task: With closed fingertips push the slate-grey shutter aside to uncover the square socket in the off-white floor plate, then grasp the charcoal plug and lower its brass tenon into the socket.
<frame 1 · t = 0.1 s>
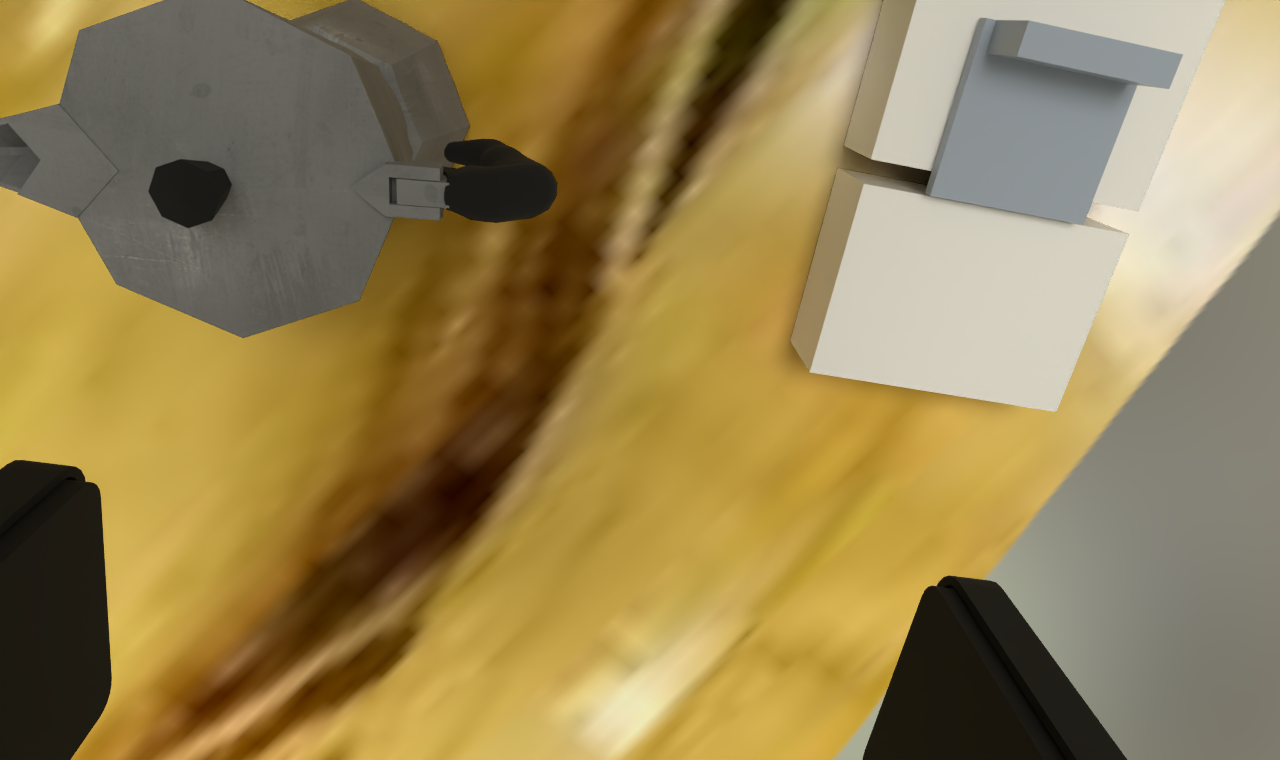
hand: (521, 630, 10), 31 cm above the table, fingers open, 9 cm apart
socket: (964, 181, 40), on the table
shutter: (1049, 129, 33), point 6 cm above the table, slide at 0.0 cm
coffeepot: (387, 117, 37), on the table
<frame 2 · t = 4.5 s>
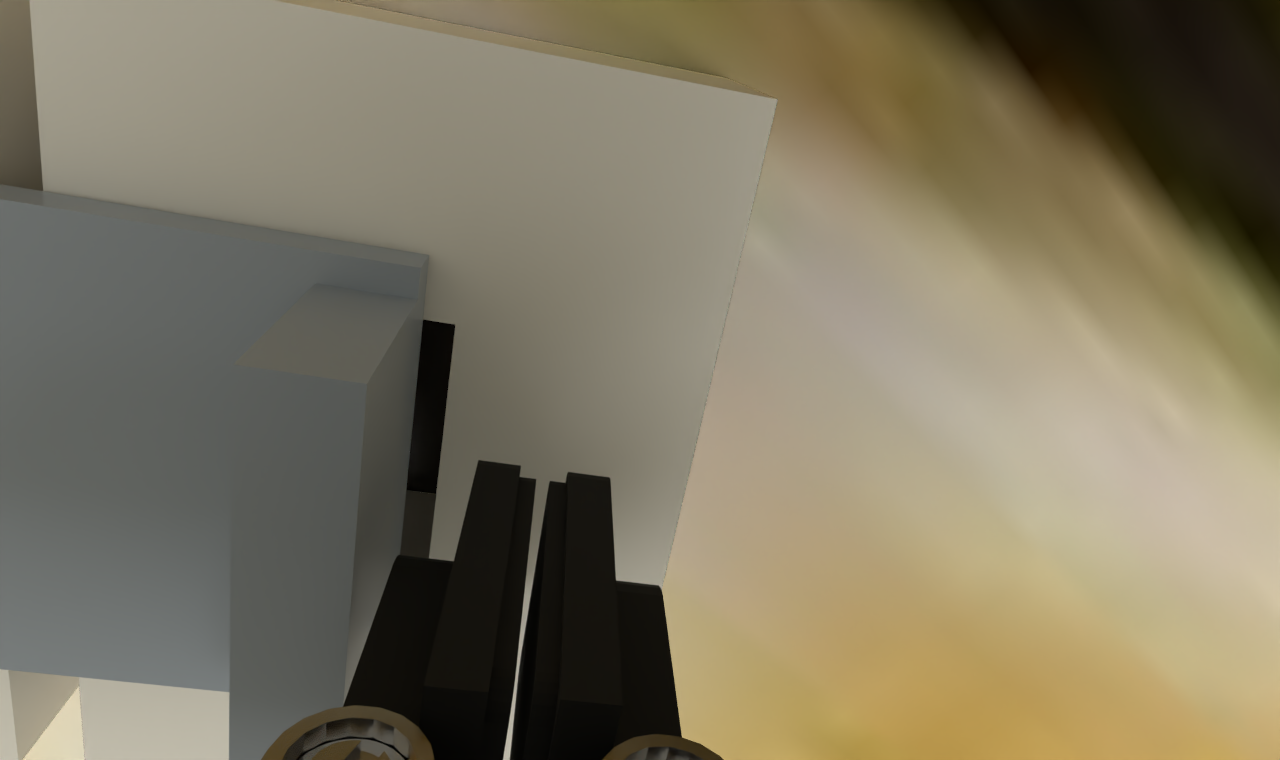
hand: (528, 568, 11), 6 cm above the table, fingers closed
socket: (158, 333, 15), on the table
shutter: (88, 518, 10), point 6 cm above the table, slide at 1.3 cm, touching gripper
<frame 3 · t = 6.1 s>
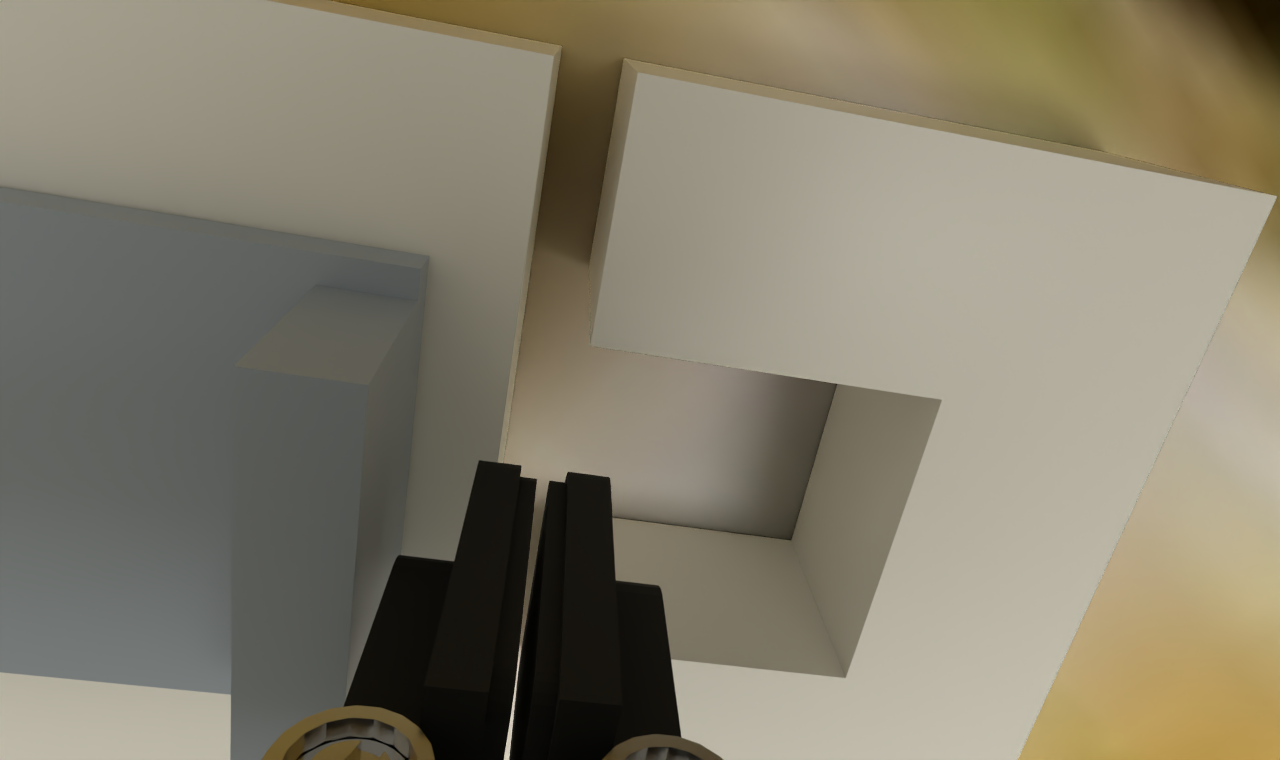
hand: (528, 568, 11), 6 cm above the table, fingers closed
socket: (540, 391, 16), on the table
shutter: (88, 521, 10), point 6 cm above the table, slide at 8.1 cm, touching gripper
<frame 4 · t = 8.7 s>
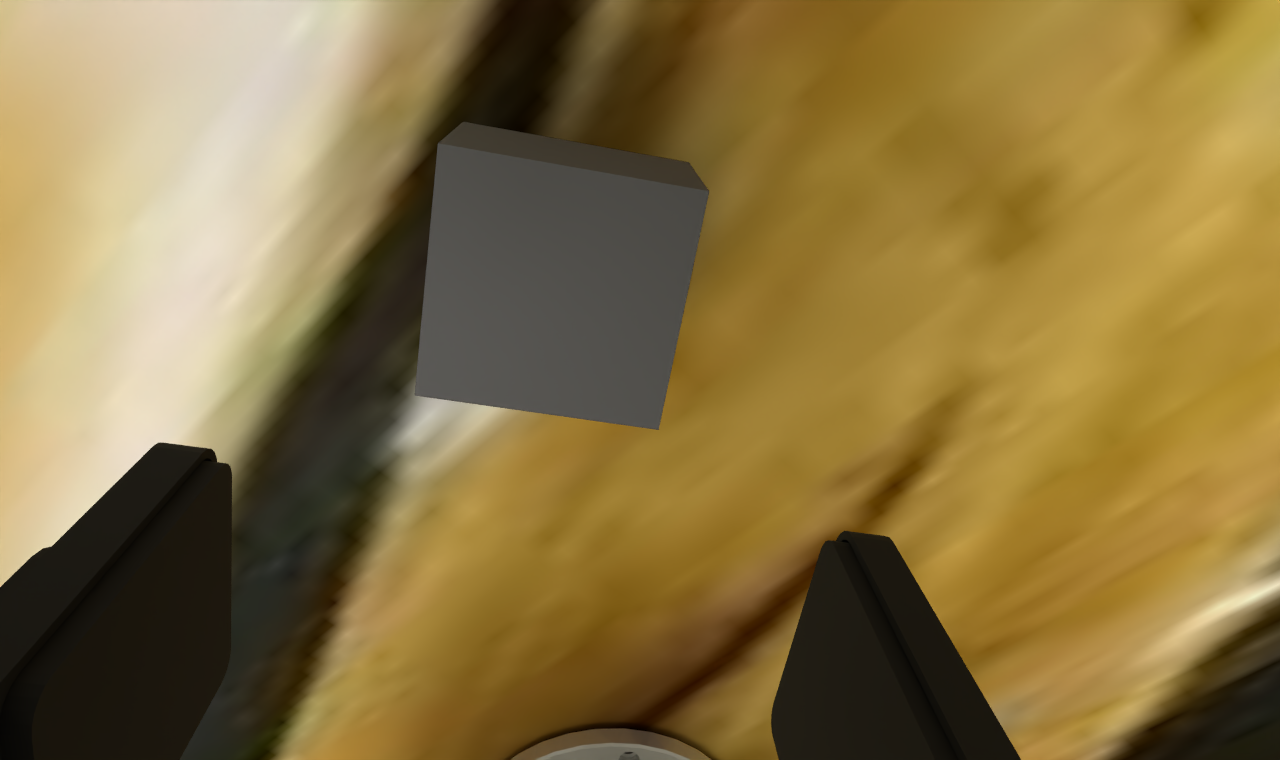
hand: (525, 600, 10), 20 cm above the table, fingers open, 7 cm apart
plug: (563, 229, 29), on the table
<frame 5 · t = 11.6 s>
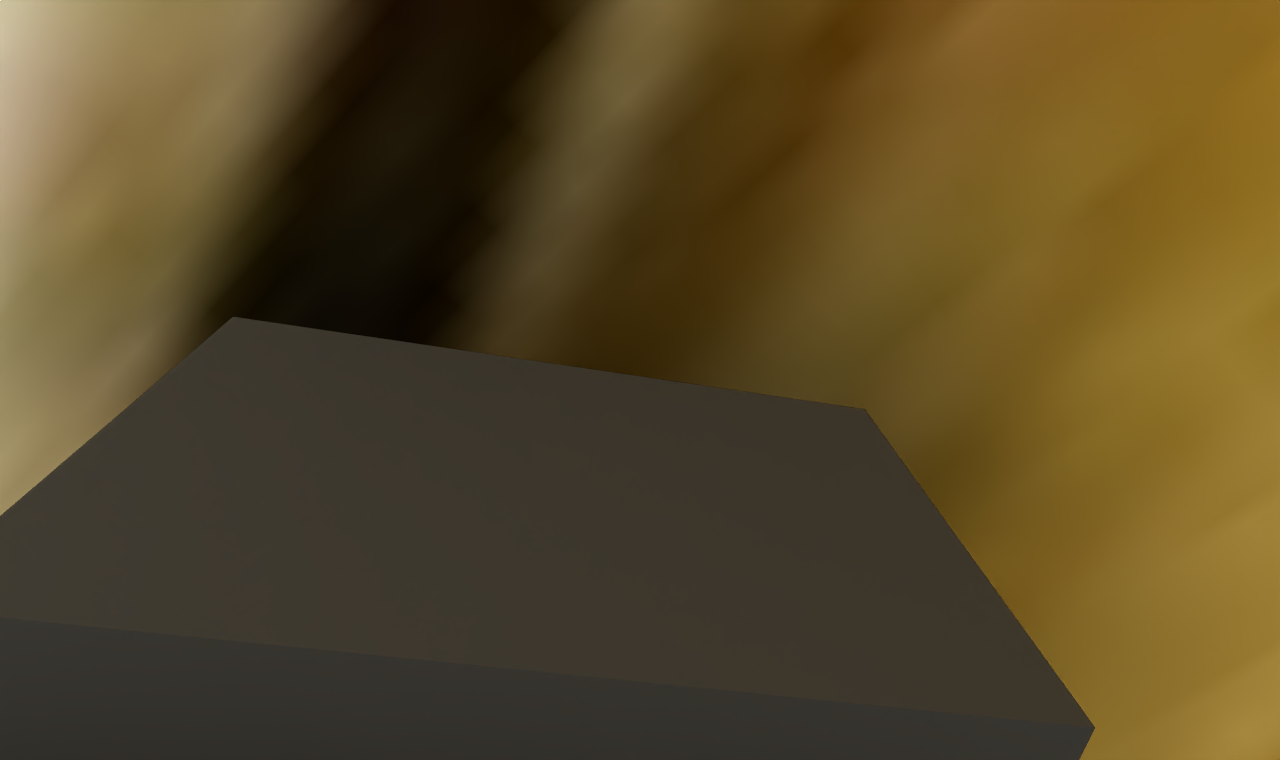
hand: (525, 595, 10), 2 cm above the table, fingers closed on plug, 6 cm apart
plug: (535, 491, 13), on the table, touching gripper
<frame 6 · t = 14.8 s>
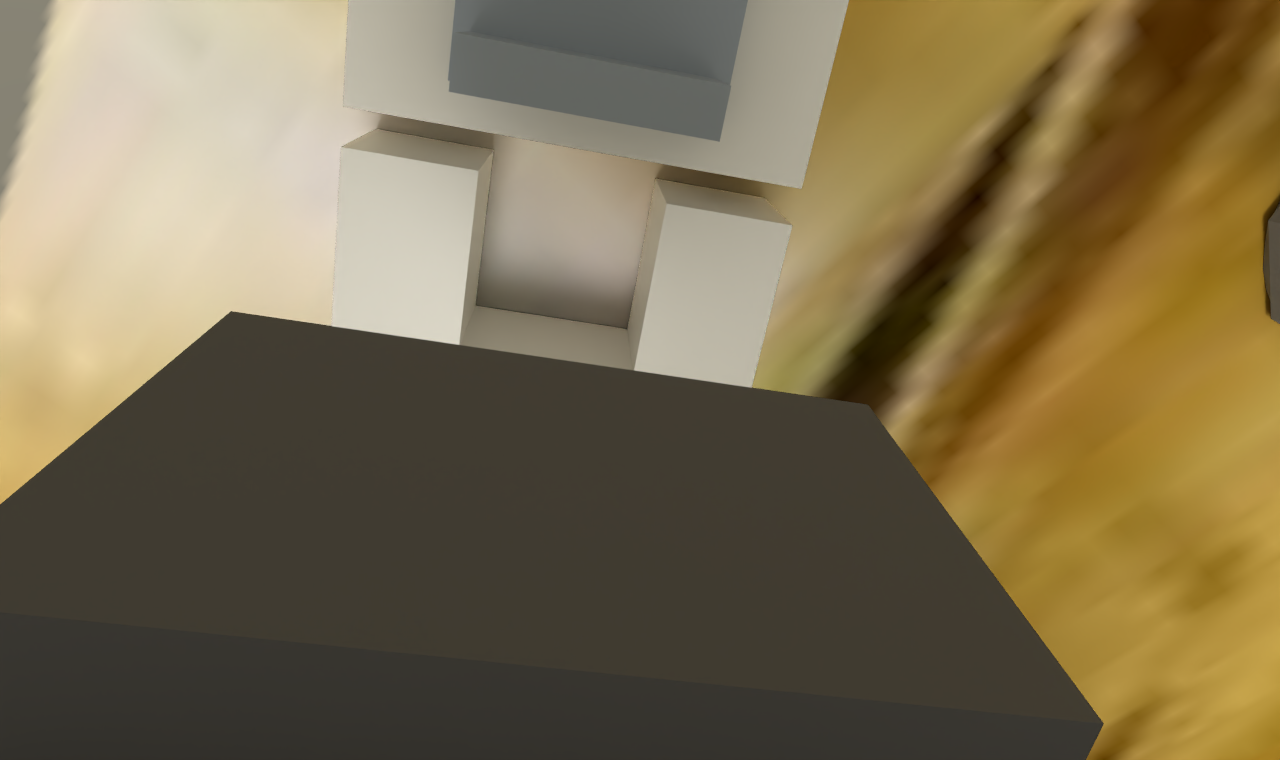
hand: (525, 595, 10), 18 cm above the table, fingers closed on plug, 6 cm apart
socket: (578, 147, 26), on the table
plug: (535, 488, 13), point 16 cm above the table, touching gripper
when the fingers open (5 cm above the table, at t = 18.5 s): plug drops 2 cm, resting on socket.
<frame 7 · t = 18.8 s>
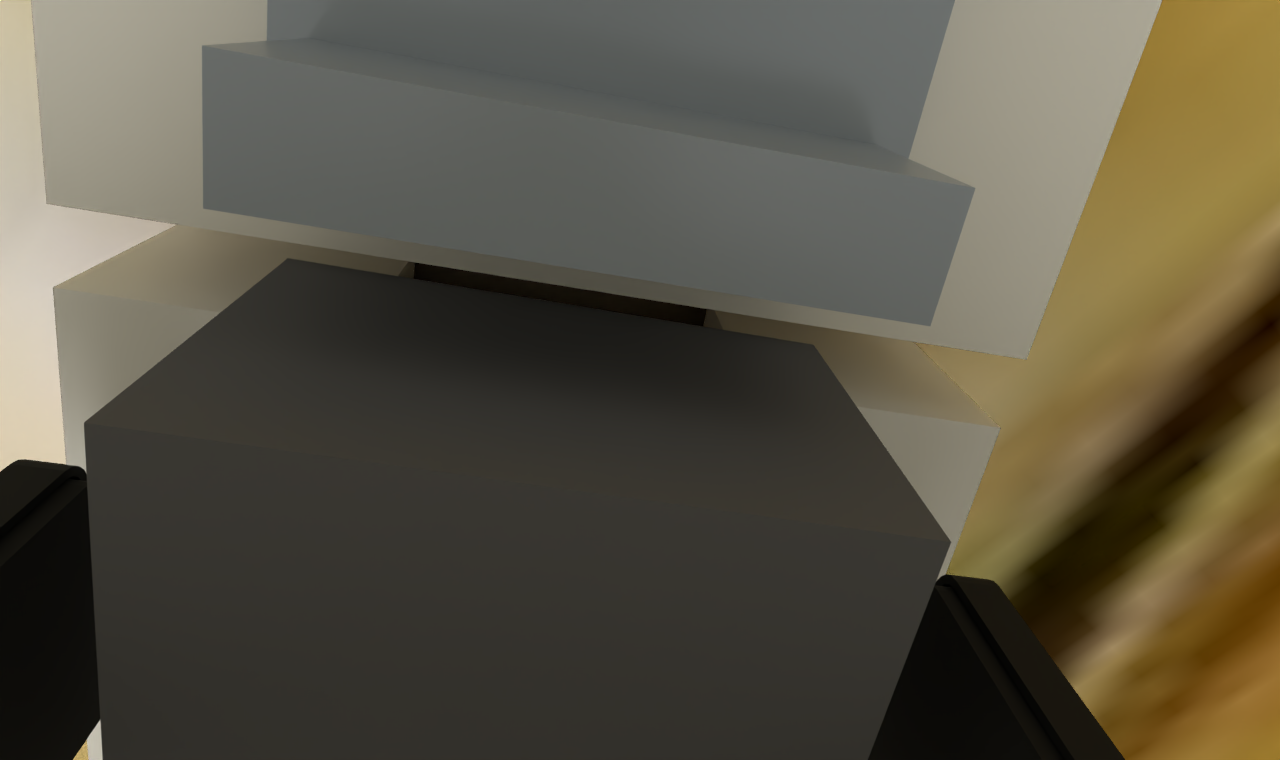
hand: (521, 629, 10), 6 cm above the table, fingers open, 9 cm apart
socket: (570, 246, 14), on the table
plug: (535, 430, 15), point 1 cm above the table, touching socket
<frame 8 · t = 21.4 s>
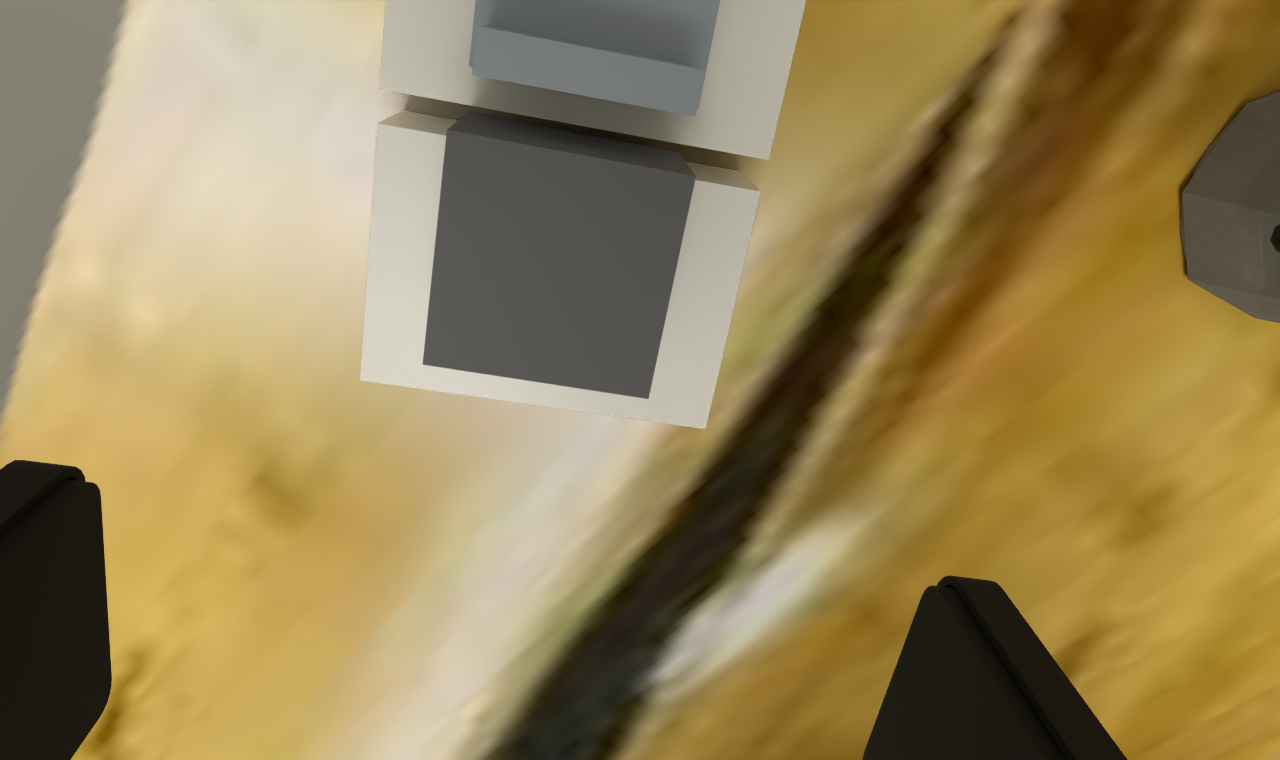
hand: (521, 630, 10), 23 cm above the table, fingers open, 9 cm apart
socket: (578, 127, 30), on the table
coffeepot: (1261, 196, 33), on the table
plug: (561, 215, 30), point 1 cm above the table, touching socket
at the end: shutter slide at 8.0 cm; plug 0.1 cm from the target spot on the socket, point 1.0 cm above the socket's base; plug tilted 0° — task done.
